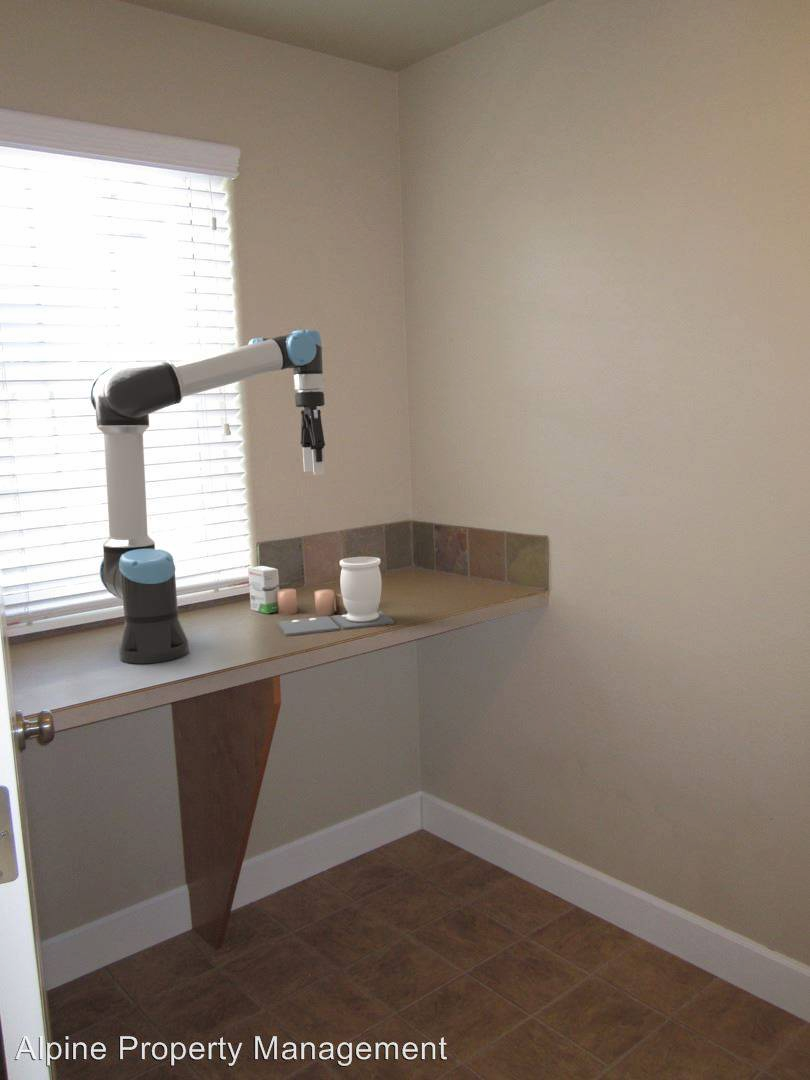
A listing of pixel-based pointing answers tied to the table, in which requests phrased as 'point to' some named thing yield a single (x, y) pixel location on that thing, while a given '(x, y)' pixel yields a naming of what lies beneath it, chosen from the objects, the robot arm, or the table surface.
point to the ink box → (263, 589)
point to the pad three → (347, 624)
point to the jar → (361, 587)
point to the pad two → (307, 626)
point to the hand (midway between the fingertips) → (314, 473)
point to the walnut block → (340, 604)
